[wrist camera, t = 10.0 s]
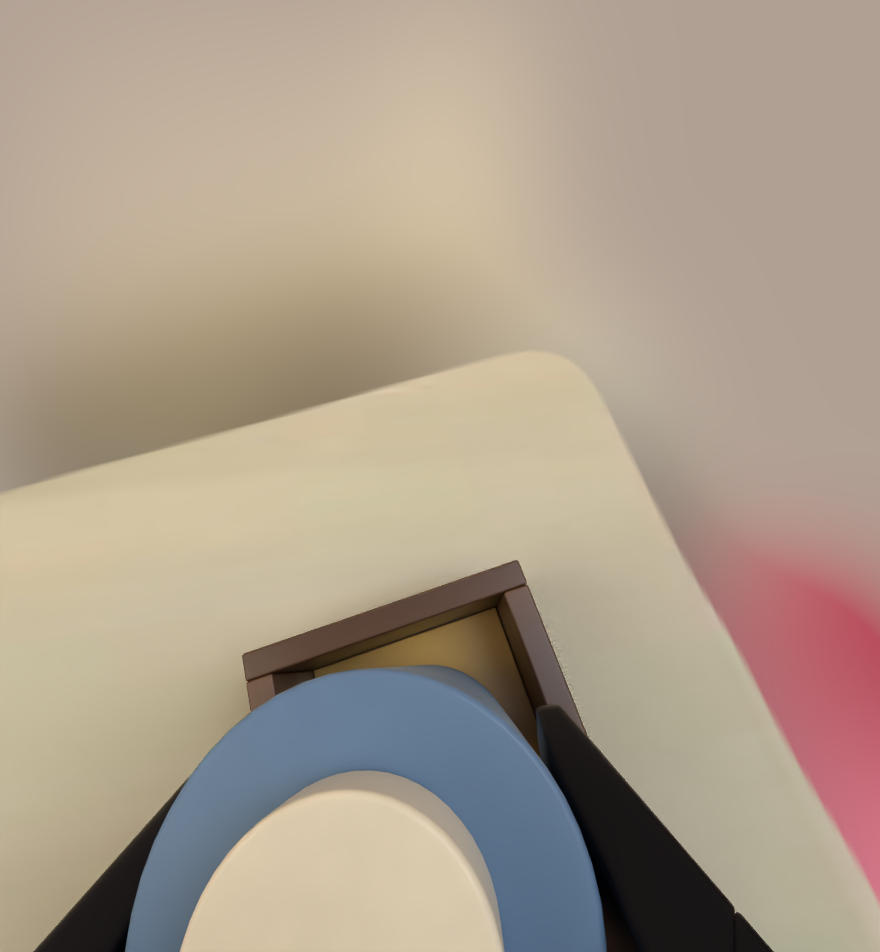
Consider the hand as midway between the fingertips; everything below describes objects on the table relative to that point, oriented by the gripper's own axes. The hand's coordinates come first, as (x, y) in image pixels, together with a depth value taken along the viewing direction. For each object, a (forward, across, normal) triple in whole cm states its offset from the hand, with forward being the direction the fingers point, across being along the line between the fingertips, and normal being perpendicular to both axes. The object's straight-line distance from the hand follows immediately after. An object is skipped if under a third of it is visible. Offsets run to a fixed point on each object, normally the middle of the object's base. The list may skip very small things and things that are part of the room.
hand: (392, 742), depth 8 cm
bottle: (+4, 0, +6) cm, 7 cm away
